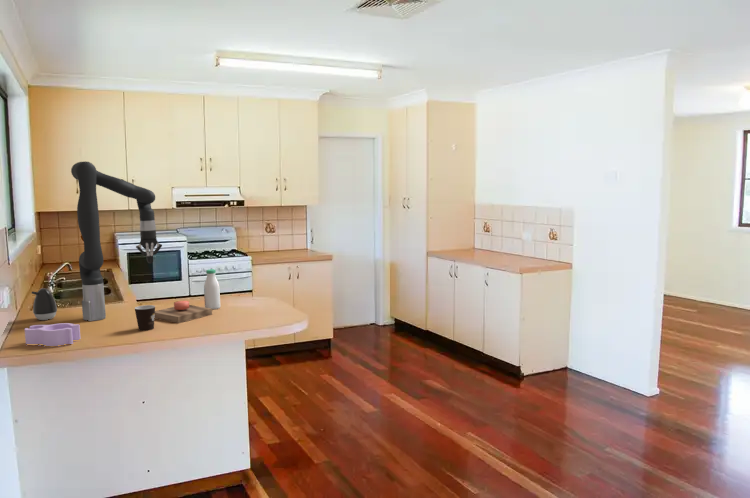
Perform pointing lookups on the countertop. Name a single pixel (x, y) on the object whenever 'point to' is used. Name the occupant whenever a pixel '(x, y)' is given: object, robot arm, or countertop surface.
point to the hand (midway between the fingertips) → (150, 263)
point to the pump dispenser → (44, 305)
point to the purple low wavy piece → (52, 334)
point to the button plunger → (181, 305)
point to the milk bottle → (211, 290)
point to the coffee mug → (145, 317)
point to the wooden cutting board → (182, 314)
